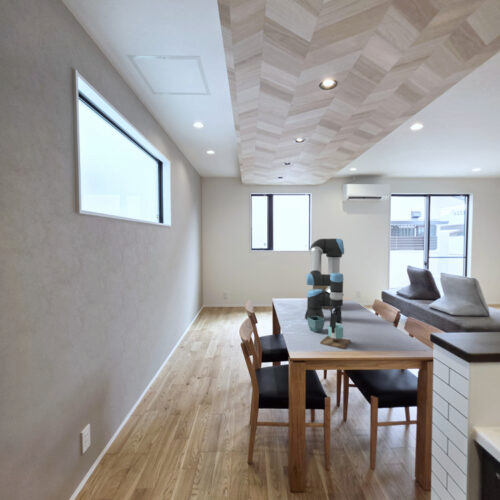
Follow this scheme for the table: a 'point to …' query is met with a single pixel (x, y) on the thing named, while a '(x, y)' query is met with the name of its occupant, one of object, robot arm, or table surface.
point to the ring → (338, 331)
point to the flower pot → (316, 323)
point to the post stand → (335, 342)
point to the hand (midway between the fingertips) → (335, 335)
